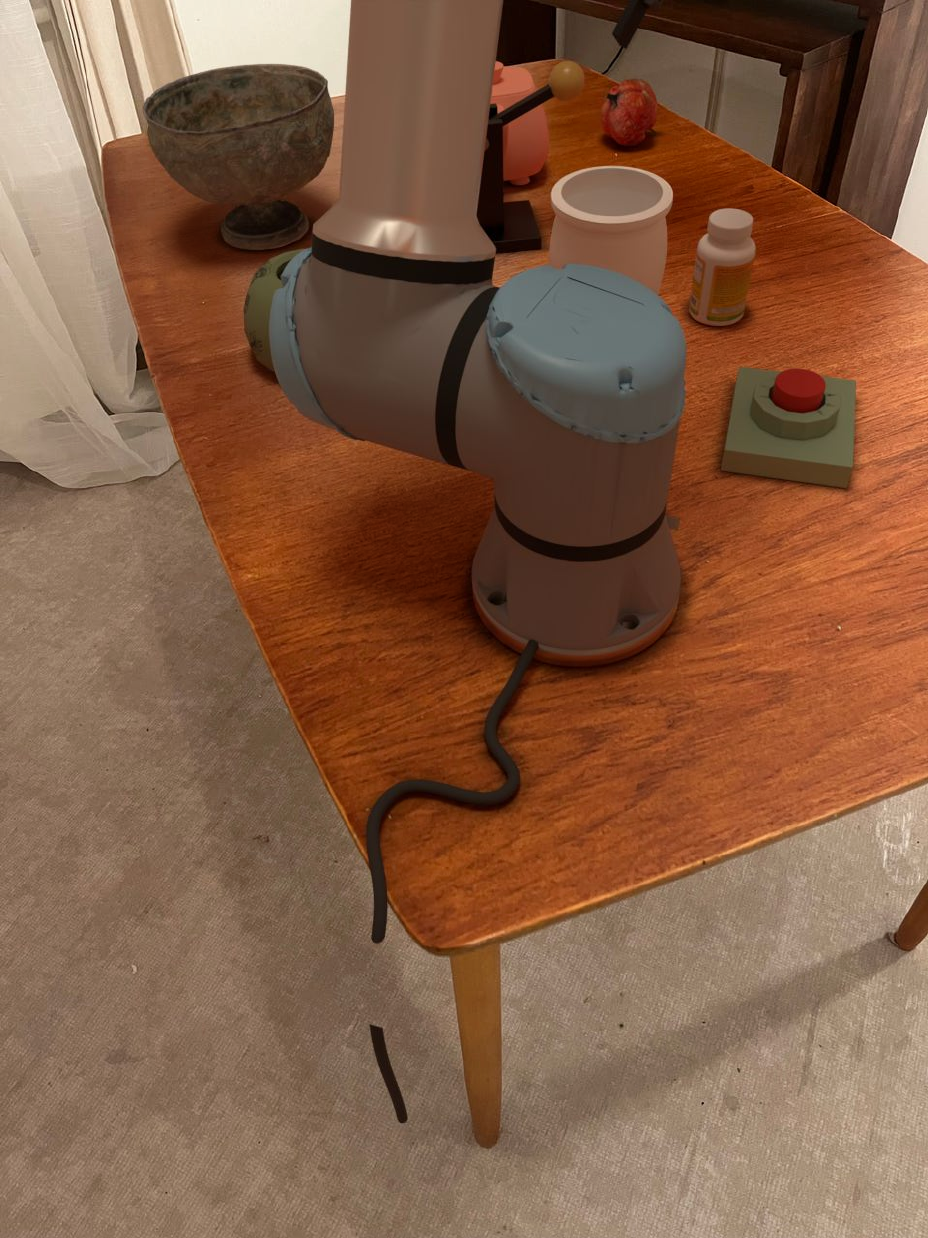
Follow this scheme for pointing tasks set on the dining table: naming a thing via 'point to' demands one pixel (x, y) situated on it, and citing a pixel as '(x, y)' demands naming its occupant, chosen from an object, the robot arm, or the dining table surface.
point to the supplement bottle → (723, 268)
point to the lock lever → (549, 91)
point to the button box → (790, 432)
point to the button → (798, 390)
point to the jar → (612, 222)
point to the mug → (264, 305)
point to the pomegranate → (629, 112)
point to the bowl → (245, 144)
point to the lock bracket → (503, 220)
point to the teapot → (520, 125)
